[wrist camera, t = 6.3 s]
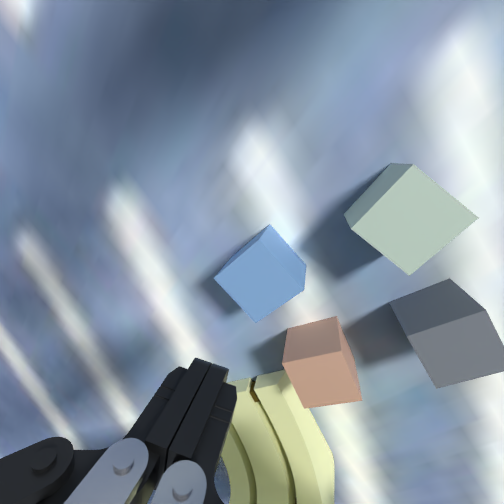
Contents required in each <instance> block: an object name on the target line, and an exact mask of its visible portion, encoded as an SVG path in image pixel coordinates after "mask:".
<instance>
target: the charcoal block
mask: <svg viewBox="0 0 504 504" xmlns="http://www.w3.org/2000/svg"><path fill="white" fill-rule="evenodd" d="M389 303H390V305H391V307H392V309H393V311H394V313H395V315H396V317H397V319H398V321H399V323H400V325H401V327H402V328H403V330H404V332H405V334H406V336H407V338H408V340H409V341H410V343H411V345H412V347H413V348H414V350H415V352H416V354H417V356H418V357H419V359H420V361H421V363H422V364H423V366H424V368H425V370H426V371H427V373H428V375H429V377H430V378H431V380H432V382H433V384H434V386H435V387H436V388H440V387H444V386H448V385H452V384H456V383H460V382H464V381H468V380H472V379H476V378H479V377H483V376H487V375H491V374H495V373H499V372H503V371H504V346H503V344H502V342H501V340H500V338H499V336H498V334H497V331H496V329H495V327H494V325H493V323H492V321H491V319H490V317H489V315H488V313H487V311H486V310H485V309H484V308H483V307H482V306H481V305H480V304H478V303H477V302H476V301H475V300H474V299H473V298H472V297H470V296H469V295H468V294H467V293H466V292H465V291H464V290H462V289H461V288H460V287H459V286H458V285H457V284H456V283H454V282H453V281H452V280H451V279H447V280H445V281H442V282H440V283H437V284H434V285H432V286H429V287H427V288H424V289H422V290H419V291H416V292H414V293H411V294H409V295H406V296H404V297H401V298H398V299H396V300H393V301H391V302H389Z"/></svg>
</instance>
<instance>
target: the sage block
mask: <svg viewBox="0 0 504 504" xmlns="http://www.w3.org/2000/svg"><path fill="white" fill-rule="evenodd" d="M344 216H345V218H346V220H347V222H348V224H349V226H350V228H351V229H352V230H353V231H354V232H356V233H357V234H358V235H359V236H361V237H362V238H363V239H364V240H365V241H367V242H368V243H369V244H370V245H372V246H373V247H374V248H375V249H377V250H378V251H379V252H380V253H382V254H383V255H384V256H385V257H387V258H388V259H389V260H390V261H392V262H393V263H394V264H395V265H397V266H398V267H399V268H400V269H402V270H403V271H404V272H405V273H407V274H408V275H409V276H410V275H411V274H412V273H413V272H414V271H416V270H417V269H418V268H419V267H420V266H422V265H423V264H424V263H425V262H426V261H428V260H429V259H430V258H431V257H432V256H434V255H435V254H436V253H437V252H438V251H440V250H441V249H442V248H443V247H444V246H446V245H447V244H448V243H449V242H450V241H452V240H453V239H454V238H455V237H456V236H458V235H459V234H460V233H461V232H462V231H464V230H465V229H466V228H467V227H468V226H470V225H471V224H472V223H473V222H474V221H476V220H477V219H478V217H477V216H476V215H475V214H473V213H472V212H471V211H470V210H469V209H467V208H466V207H465V206H464V205H462V204H461V203H460V202H459V201H458V200H456V199H455V198H454V197H453V196H451V195H450V194H449V193H448V192H447V191H445V190H444V189H443V188H442V187H441V186H439V185H438V184H437V183H436V182H434V181H433V180H432V179H431V178H430V177H428V176H427V175H426V174H425V173H423V172H422V171H421V170H420V169H419V168H417V167H416V166H415V165H414V164H398V163H391V164H390V165H389V166H388V167H387V168H386V169H385V170H384V171H383V172H382V173H381V174H380V175H379V176H378V178H377V179H376V180H375V181H374V182H373V183H372V184H371V185H370V186H369V187H368V188H367V189H366V191H365V192H364V193H363V194H362V195H361V196H360V197H359V198H358V199H357V200H356V201H355V202H354V203H353V205H352V206H351V207H350V208H349V209H348V210H347V211H346V212H345V213H344Z"/></svg>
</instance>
